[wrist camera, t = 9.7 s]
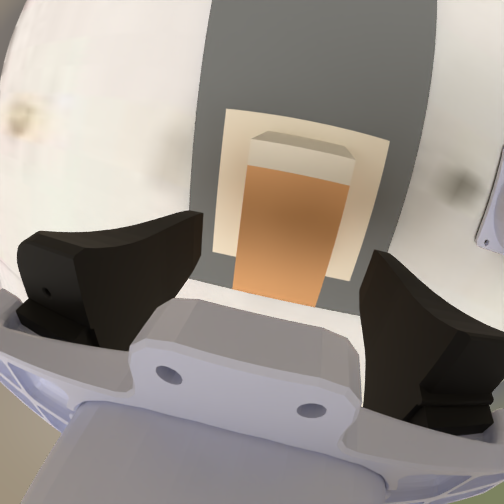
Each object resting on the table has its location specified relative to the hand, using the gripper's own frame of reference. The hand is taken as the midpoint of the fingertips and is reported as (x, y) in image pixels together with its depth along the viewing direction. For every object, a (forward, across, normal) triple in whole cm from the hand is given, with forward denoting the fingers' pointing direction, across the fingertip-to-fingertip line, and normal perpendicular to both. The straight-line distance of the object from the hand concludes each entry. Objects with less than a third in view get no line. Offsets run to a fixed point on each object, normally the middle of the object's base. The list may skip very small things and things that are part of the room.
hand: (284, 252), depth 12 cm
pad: (+8, 0, 0) cm, 8 cm away
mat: (+8, 0, -8) cm, 11 cm away
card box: (+7, 0, 0) cm, 7 cm away
